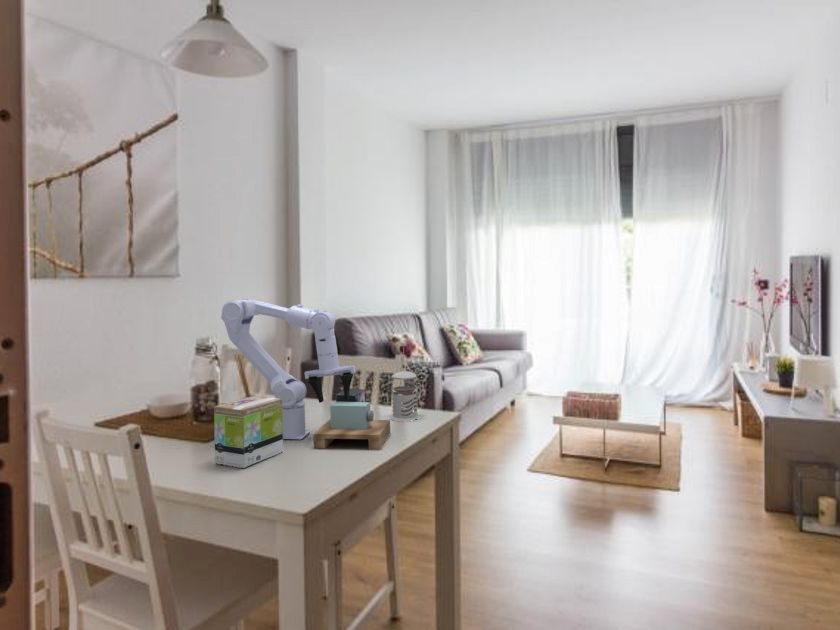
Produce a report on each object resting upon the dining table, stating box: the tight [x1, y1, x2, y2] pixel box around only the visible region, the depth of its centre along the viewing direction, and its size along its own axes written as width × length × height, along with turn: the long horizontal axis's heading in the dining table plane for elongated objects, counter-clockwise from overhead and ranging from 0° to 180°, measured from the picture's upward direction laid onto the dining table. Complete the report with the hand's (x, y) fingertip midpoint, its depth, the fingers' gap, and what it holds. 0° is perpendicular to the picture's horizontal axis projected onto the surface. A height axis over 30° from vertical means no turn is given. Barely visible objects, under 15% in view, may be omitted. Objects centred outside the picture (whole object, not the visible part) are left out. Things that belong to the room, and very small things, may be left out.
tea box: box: [213, 395, 284, 469], centre depth 152 cm, size 15×10×15 cm, turn 155°
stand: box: [313, 419, 391, 450], centre depth 166 cm, size 18×16×4 cm
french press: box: [390, 340, 422, 422], centre depth 192 cm, size 10×12×25 cm
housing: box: [329, 401, 375, 430], centre depth 165 cm, size 11×5×6 cm, turn 78°
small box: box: [335, 388, 366, 402], centre depth 184 cm, size 11×6×10 cm, turn 169°
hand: (334, 400), depth 170 cm, fingers open, 7 cm apart
